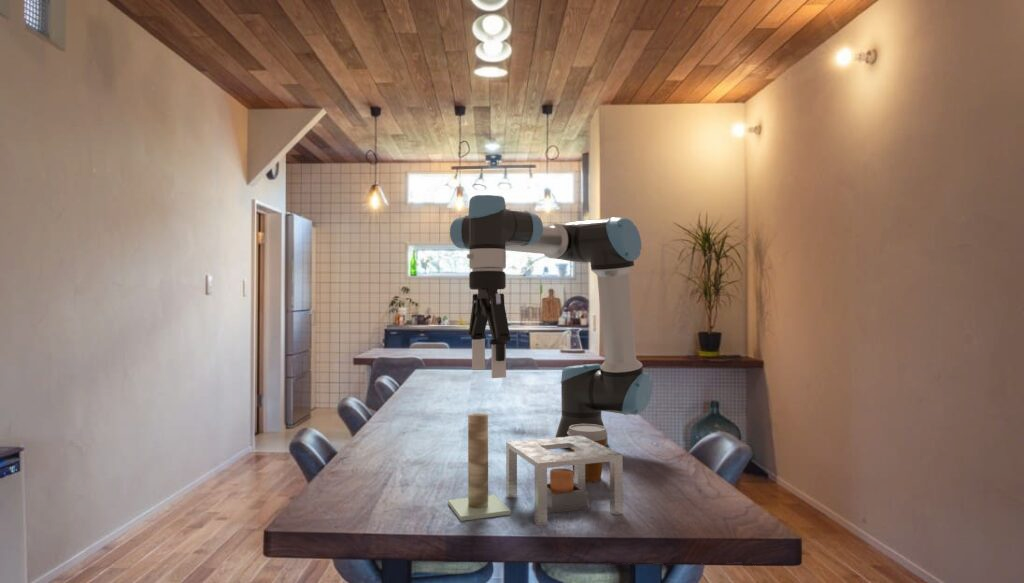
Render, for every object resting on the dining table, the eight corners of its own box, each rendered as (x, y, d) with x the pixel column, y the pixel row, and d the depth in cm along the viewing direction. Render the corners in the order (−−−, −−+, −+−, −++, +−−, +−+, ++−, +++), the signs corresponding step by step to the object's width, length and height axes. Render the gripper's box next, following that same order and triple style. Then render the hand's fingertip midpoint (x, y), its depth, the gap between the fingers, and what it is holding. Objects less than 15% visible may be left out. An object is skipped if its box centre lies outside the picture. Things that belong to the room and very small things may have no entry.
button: (567, 496, 126) (567, 467, 126) (577, 503, 121) (577, 473, 121) (546, 498, 124) (546, 469, 124) (556, 506, 120) (556, 476, 120)
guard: (581, 486, 134) (581, 435, 134) (622, 513, 117) (622, 454, 117) (506, 495, 128) (506, 441, 128) (538, 525, 111) (538, 463, 111)
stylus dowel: (484, 500, 122) (484, 412, 122) (490, 507, 118) (490, 416, 119) (465, 503, 121) (465, 414, 121) (471, 509, 117) (471, 417, 117)
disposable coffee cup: (610, 475, 143) (610, 425, 143) (603, 486, 134) (603, 433, 134) (572, 471, 146) (572, 422, 146) (562, 482, 137) (562, 430, 137)
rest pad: (494, 498, 126) (494, 494, 126) (510, 514, 117) (510, 510, 117) (448, 503, 123) (448, 500, 123) (460, 520, 113) (460, 516, 113)
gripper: (454, 272, 133) (455, 367, 133) (488, 267, 110) (489, 382, 110) (486, 272, 136) (487, 365, 136) (526, 268, 113) (527, 380, 113)
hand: (488, 373), depth 123 cm, fingers open, 13 cm apart
